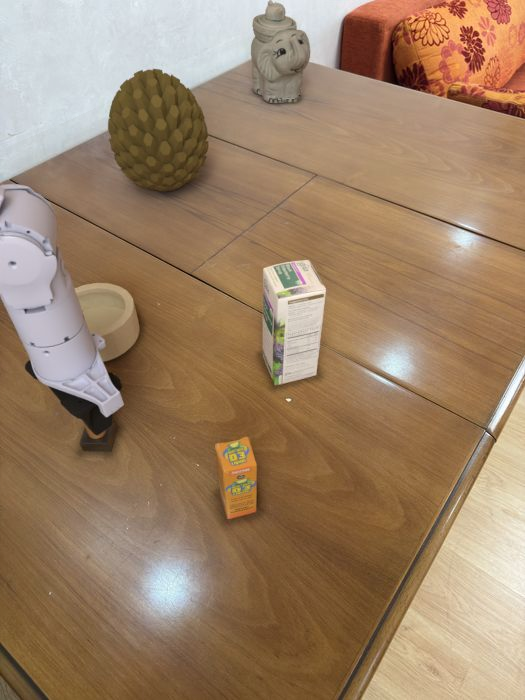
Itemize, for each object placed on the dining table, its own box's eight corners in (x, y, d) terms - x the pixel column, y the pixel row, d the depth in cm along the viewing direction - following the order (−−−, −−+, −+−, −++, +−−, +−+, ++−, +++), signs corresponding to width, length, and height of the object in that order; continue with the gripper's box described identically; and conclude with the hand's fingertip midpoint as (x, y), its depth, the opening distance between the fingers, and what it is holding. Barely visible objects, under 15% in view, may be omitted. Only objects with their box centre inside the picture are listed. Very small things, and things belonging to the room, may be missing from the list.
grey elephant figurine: (302, 115, 120) (306, 20, 106) (238, 108, 123) (234, 14, 109) (317, 87, 131) (323, -3, 117) (258, 81, 134) (257, -7, 120)
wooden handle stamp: (82, 451, 60) (60, 402, 54) (90, 427, 62) (69, 377, 56) (111, 452, 60) (91, 403, 53) (117, 428, 62) (99, 378, 56)
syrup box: (261, 354, 70) (259, 266, 59) (303, 344, 71) (309, 256, 61) (274, 387, 66) (275, 298, 56) (319, 376, 67) (328, 287, 57)
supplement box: (227, 523, 54) (220, 472, 47) (219, 493, 56) (212, 440, 49) (258, 514, 55) (257, 463, 47) (250, 485, 57) (247, 432, 50)
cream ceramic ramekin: (41, 349, 71) (30, 325, 68) (89, 299, 78) (82, 275, 74) (110, 373, 68) (102, 348, 65) (154, 318, 75) (149, 294, 72)
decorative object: (215, 163, 105) (207, 53, 90) (207, 211, 93) (195, 92, 79) (130, 163, 105) (108, 52, 91) (111, 210, 94) (82, 92, 79)
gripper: (138, 340, 46) (161, 430, 56) (47, 269, 53) (81, 361, 63) (68, 386, 43) (105, 474, 53) (-20, 304, 50) (28, 396, 59)
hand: (89, 415), depth 58 cm, fingers open, 4 cm apart
